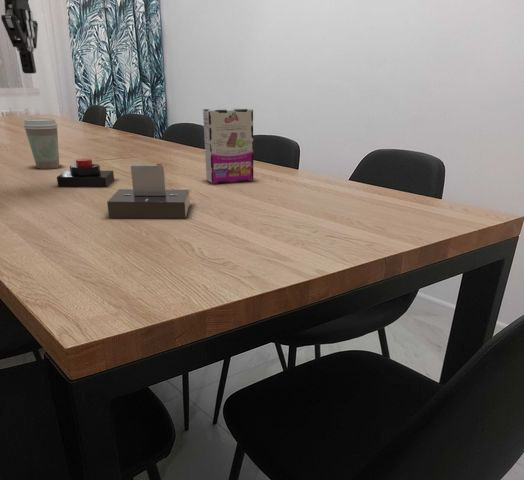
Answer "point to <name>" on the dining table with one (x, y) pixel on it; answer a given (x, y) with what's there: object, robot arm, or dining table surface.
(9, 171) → the dining table surface
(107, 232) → the dining table surface
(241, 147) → the candy bar box
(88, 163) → the power button
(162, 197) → the dark grey base plate
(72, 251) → the dining table surface
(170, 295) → the dining table surface
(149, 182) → the knob
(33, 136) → the coffee cup
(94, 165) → the push button base
